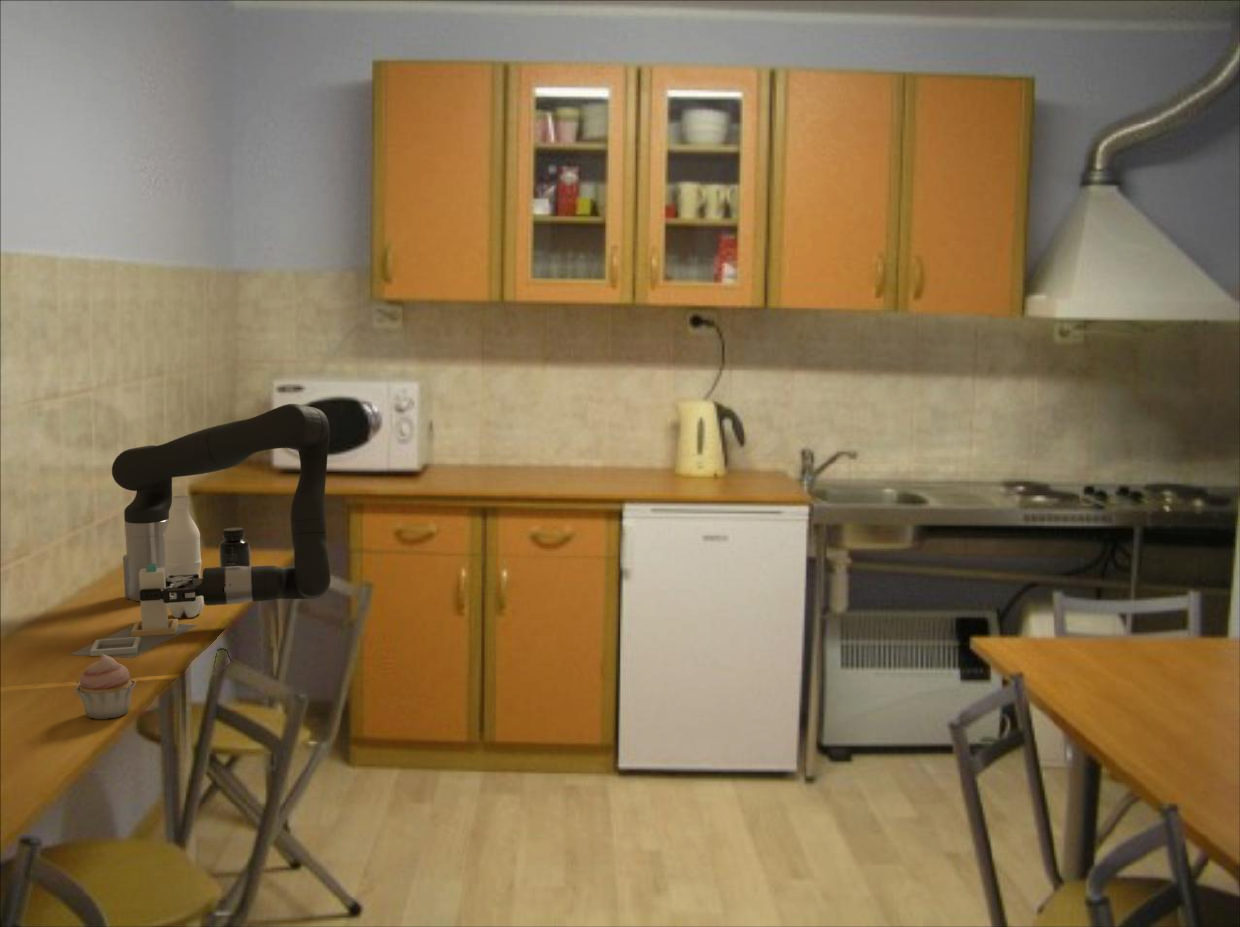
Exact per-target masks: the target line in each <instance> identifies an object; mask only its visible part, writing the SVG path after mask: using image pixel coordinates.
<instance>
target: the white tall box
mask: <svg viewBox="0 0 1240 927" xmlns="http://www.w3.org/2000/svg"><path fill="white" fill-rule="evenodd" d="M139 584H140V590H141V589H153V588H162V587H166V579H165V567H164V568H157V564H147V567H146V569H141V570H140V572H139ZM139 602H140V614H141V618H140V619H141V621H142V630H148V629H163V628H168V619H169V618H168V604H167V603H164V602H163V601H161V599H160V600H151V601H141V600H140V601H139Z"/></svg>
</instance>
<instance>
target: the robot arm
mask: <svg viewBox="0 0 1240 927" xmlns="http://www.w3.org/2000/svg"><path fill="white" fill-rule="evenodd" d="M329 423H330V422H329V420H328V417H327V415H326V414H325V413H324V411H322V410H321V409H318V408H317V407H312V406H309V405H305V404H299V403H288V404H287V403H286V404H284V405H283V404H282V405H281V406H278V407H275V408H273V409H271V410H268V411H267V412H264V413H261V414H258V415H256V416H252V417H250V418H247V419H242V420H236V421H232V422H229V423H228V422H227V423H223V424H219V425H215V426H212V427H208V428H207V427H206V428H204V429H201V430H197V431H196V432H192V433H188V434H186V435H183V436H181V437H178V438H176V439H173V440H170V441H168V442H166V443H162V444H159V445H144V446H139V447H133V448H129V449H125V450H124V451H122V452H121V453H120V454H119V455H117V456H116V458H115V459H114V461H113V463H112V465H111V475H112V478H113V479H114V481H115V483H116V484H117V485H118V486H119V487H121V488H122V489H124V490H127V491H131V492H132V491H133V492H136V494H135V496H134V499H132V501H131V502H130V503H129V505H127V506H126V507H125V508H124V511H123V512H124V513H123V515H124V517H123V518H124V529H125V530H124V531H125V547H126V548H125V549H126V550H125V551H126V554H125V555H123V556H122V563H123V564H122V566H123V570H122V571H123V582H124V584H123V586H124V598H125V600H131V601H135V602H141V601H151V600H160V599H161V601H163V602H164V603H174V602H188V601H191V602H193V601H196V597H197V596H203V600H204V604H203V605H205V606H223V605H224V606H226V605H237V604H238V605H239V604H240V605H241V604H246V603H252V602H265V601H274V600H280V599H281V600H312V599H314V600H315V599H318V598H321V597H323V596H324V595H325V594H326V593H327V591H328V590H329V588H330V586H331V578H332V577H331V570H330V561H329V554H328V553H329V552H328V548H327V547H328V546H327V545H328V530H327V514H326V482H327V480H326V479H327V469H328V468H327V467H328V454H329V444H330V424H329ZM275 449H291V450H296V451H298V452H297V453H298V457H299V462H300V463H299V465H300V470H299V472H300V473H299V478H298V481H297V482H298V483H297V487H296V489H295V491H294V495H293V498H292V502H291V506H290V529H291V530H290V531H291V541H292V545H293V549H294V550H293V552H294V553H293V554H294V555H293V556H294V558H293V560H294V566H293V565H291V566H282V567H281V566H277V565H256V566H251V567H247V566H230V567H220V566H215V567H204V568H203V570H202V574H201V575H202V576H201V577H200V578H199V574H193V575H170V576H168V574H167V570H166V567H165V562H166V557H165V540H164V533H165V530H166V528H167V525H168V523H169V521H170V510H171V507H172V504H173V501H172V500H173V499H172V497H173V478H179V477H180V478H181V477H189V476H196V475H197V476H198V475H204V474H210V473H216V472H218V471H219V472H220V471H224V470H226V469H230V468H232V467H233V468H234V467H236V466H238V465H240V464H243V463H244V461H246V460H247V459H249V457H251V456H252V455H254V454H256V453H260V452H263V451H268V450H275ZM147 564H157V568H164V567H165V579H166V587H162V588H153V589H141V590H140V584H139V572H140V570H141V569H146V567H147ZM180 580H181V581H180ZM170 593H171V595H170ZM140 600H141V601H140Z"/></svg>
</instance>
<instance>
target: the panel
mask: <svg viewBox="0 0 1240 927" xmlns="http://www.w3.org/2000/svg"><path fill="white" fill-rule="evenodd" d="M197 626H198V624H186V623H185V624H184V623H183V624H180V623H179V618H170V619H169V618H168V628H163V629H148V630H142V620H138V621H137V620H136V621H135V622H134V624H133V625H130V626H128V627H126V628H124V629H122V630H121V629H120V630H118V632H115V633H112V634H111V635H109V636H106V637H104V638H102V639H95V641H94V642H93V643H91V644H89V645H87V646H85V647H83V648H80V649H79V650H76V651H74V652H72V653H70V654H69V655H70V656H84V657H85V656H86V657H87V656H89V657H100V656H101V654H104V655H107V656H109V657H111V658H123V659H124V658H128V659H135V658H137V657H138V656H140V655H143V654H144V653H146V652H148V651H150V650H152V649H153V648H156V647H158V646H160V645H162V644H164V643H165V642H168V641H169V640H172V639H173V638H175V637H177V636H180V635H182V634H184V633H186V632H187V631H189V630H192V629H194V628H196V627H197Z"/></svg>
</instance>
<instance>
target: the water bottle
mask: <svg viewBox="0 0 1240 927" xmlns="http://www.w3.org/2000/svg"><path fill="white" fill-rule="evenodd" d="M188 502H189V499H188V495H176V496H175V495H173V496H172V504H171V507H170V510H172V513H171V517H170V518H169V523H168V525H167V528H166V530H165V533H164V540H165V557H166V562H165V567H166V570H167V574H168V576H170V575H193V574H199V578H201V568H202V565H203V564H202V557H201V555H202V554H201V540H200V538H201V532H200V531H199V528H198V525H197V524H196V523H195V521H194V519H193V517H192V516H191V513H190V511H189V509H190V506H189V503H188ZM180 581H181V580H180ZM170 595H171V593H170ZM204 605H205V604H204V600H203V596H197V597H196V601H193V602H191V601H188V602H174V603H167V609H168V610H169V612H170V614H171V616H172V617H174V619H181V618H182V616H183V614H184V613H185V616H186V618H188V619H189V618H190V619H192V618H195V617H197V615H198V616H199V615H200V614H201V613H202V612H203V608H204Z"/></svg>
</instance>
